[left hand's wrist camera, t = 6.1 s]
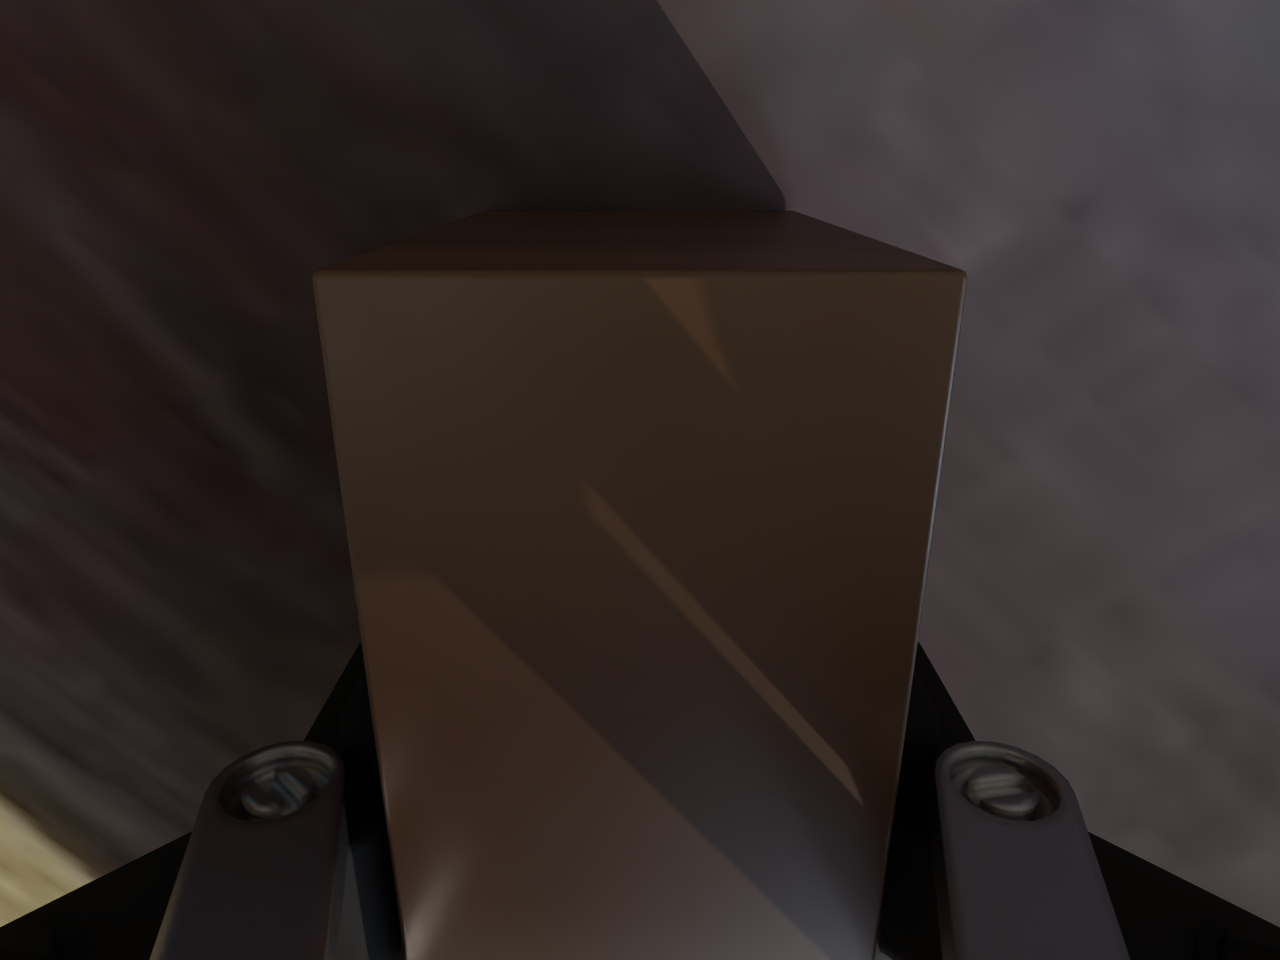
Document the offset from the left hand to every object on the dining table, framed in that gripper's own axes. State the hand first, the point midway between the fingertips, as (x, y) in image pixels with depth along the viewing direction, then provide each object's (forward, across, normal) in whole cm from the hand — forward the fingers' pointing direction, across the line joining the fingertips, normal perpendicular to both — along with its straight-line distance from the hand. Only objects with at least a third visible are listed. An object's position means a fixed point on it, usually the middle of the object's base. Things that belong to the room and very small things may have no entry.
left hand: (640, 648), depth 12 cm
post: (+2, 0, -34) cm, 34 cm away
